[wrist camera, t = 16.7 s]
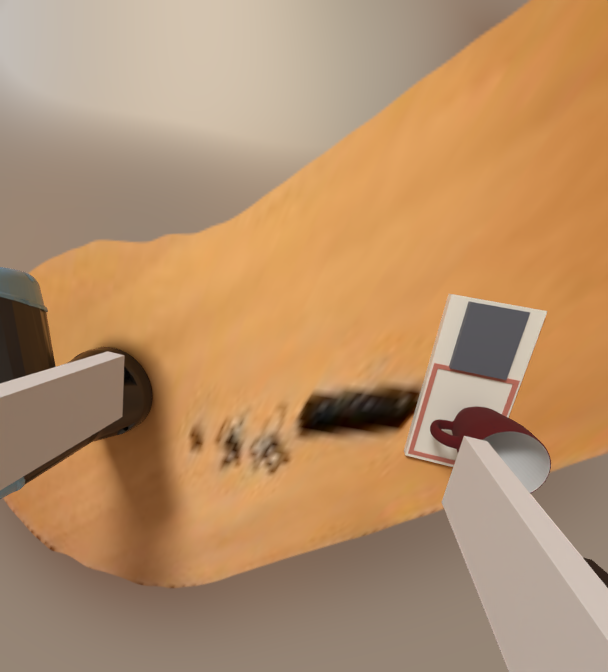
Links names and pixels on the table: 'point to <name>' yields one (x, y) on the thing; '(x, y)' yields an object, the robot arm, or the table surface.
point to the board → (472, 367)
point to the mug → (499, 442)
